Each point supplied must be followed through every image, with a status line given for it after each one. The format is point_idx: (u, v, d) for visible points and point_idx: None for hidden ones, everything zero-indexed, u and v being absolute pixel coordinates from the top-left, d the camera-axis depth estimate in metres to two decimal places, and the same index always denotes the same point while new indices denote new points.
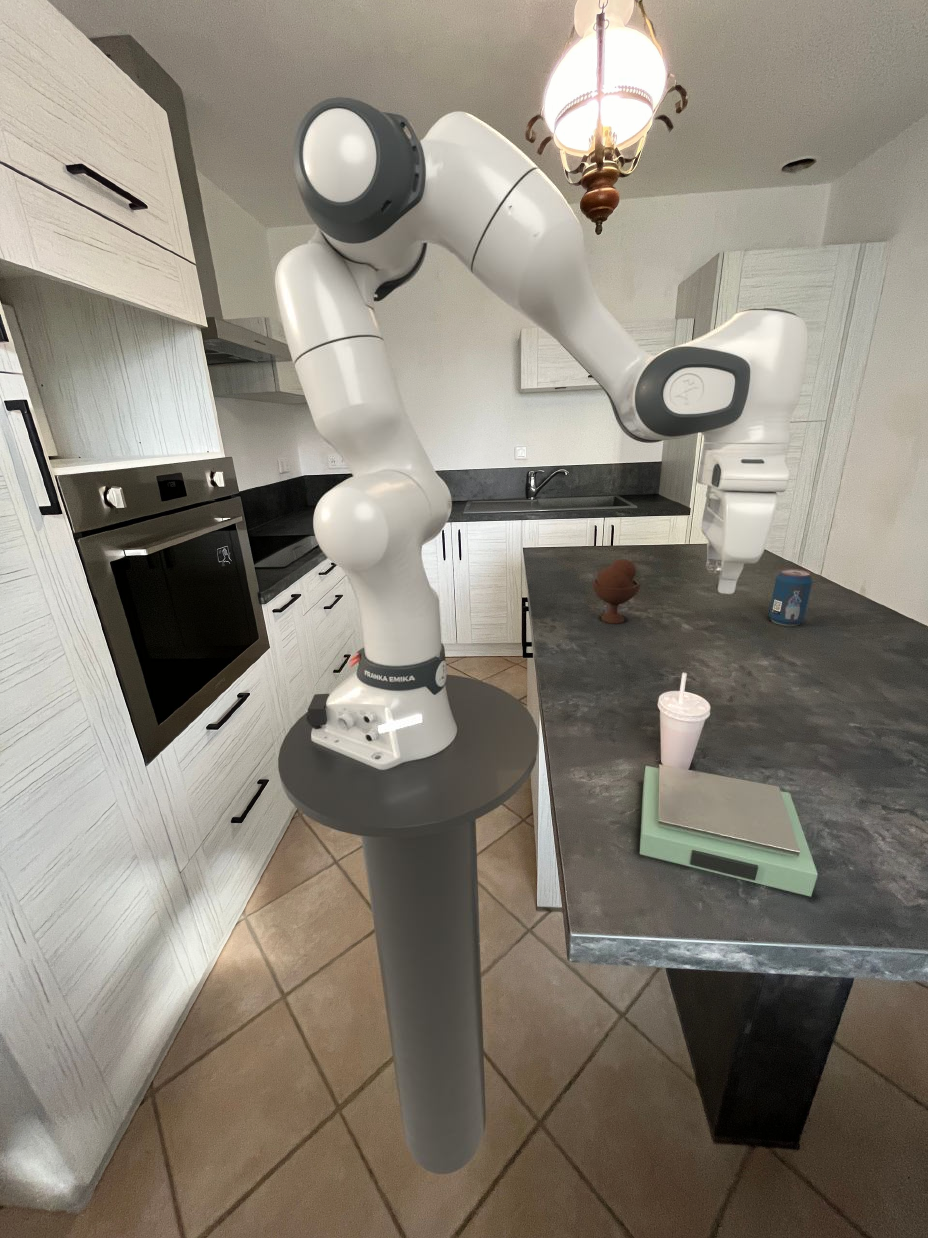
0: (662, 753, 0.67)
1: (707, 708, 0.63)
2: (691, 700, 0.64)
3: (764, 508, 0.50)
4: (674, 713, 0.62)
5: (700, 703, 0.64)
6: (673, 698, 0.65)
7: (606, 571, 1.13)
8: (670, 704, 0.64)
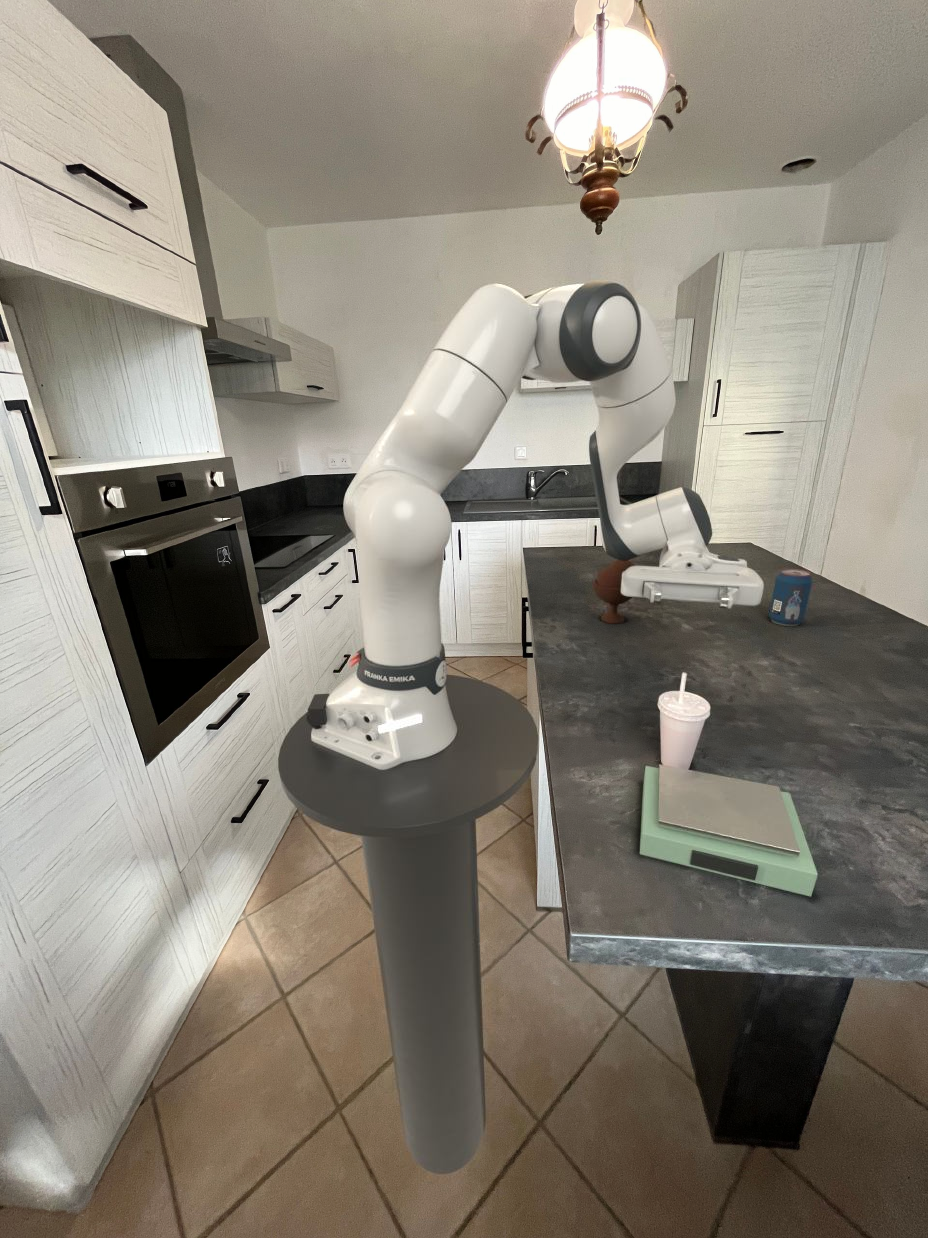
0: (662, 753, 0.67)
1: (707, 708, 0.63)
2: (691, 700, 0.64)
3: None
4: (674, 713, 0.62)
5: (700, 703, 0.64)
6: (673, 698, 0.65)
7: (606, 571, 1.13)
8: (670, 704, 0.64)
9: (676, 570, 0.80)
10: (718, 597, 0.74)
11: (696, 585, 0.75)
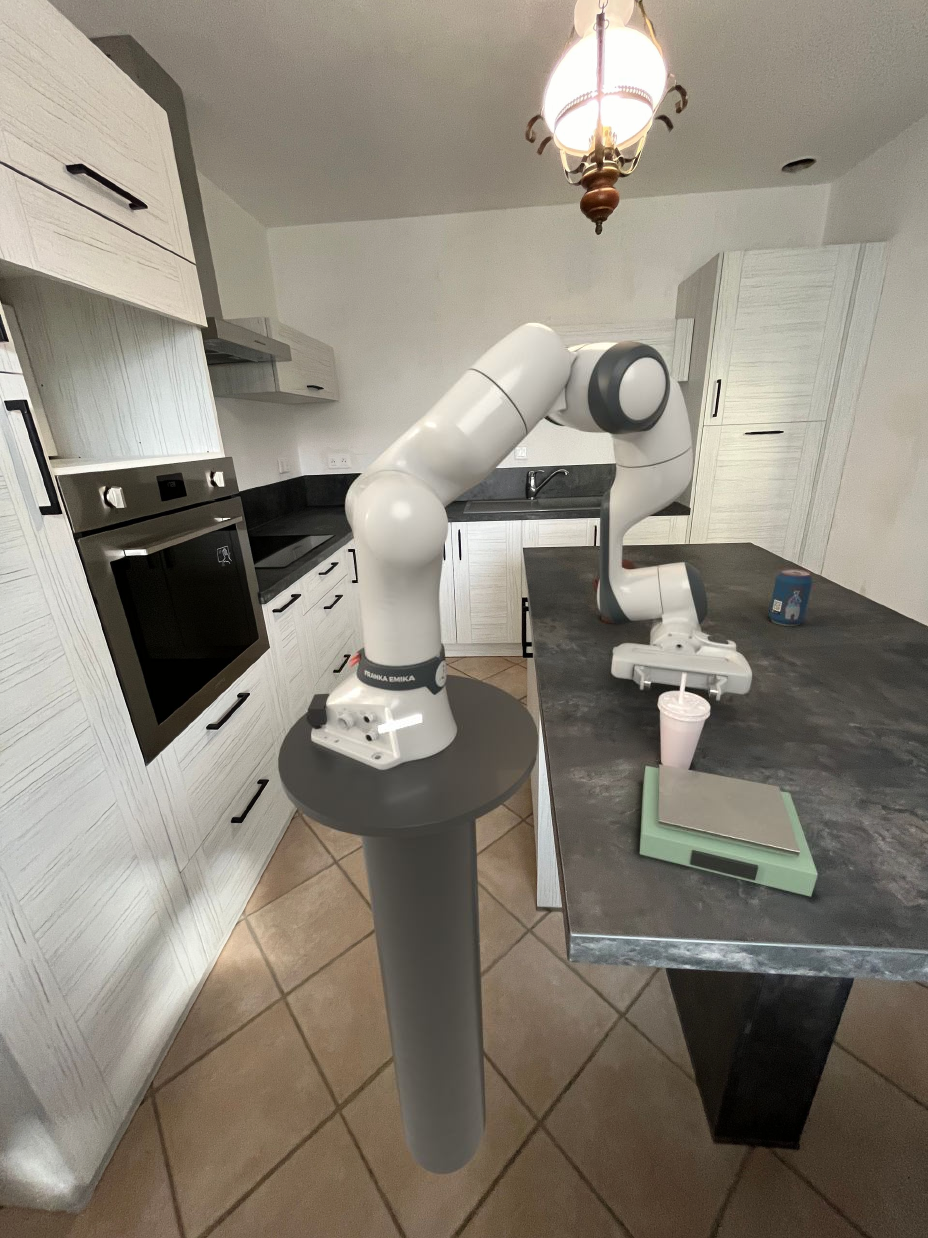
0: (662, 753, 0.67)
1: (707, 708, 0.63)
2: (691, 700, 0.64)
3: None
4: (674, 713, 0.62)
5: (700, 703, 0.64)
6: (673, 698, 0.65)
7: None
8: (670, 704, 0.64)
9: (666, 651, 0.80)
10: (707, 684, 0.75)
11: (685, 671, 0.75)
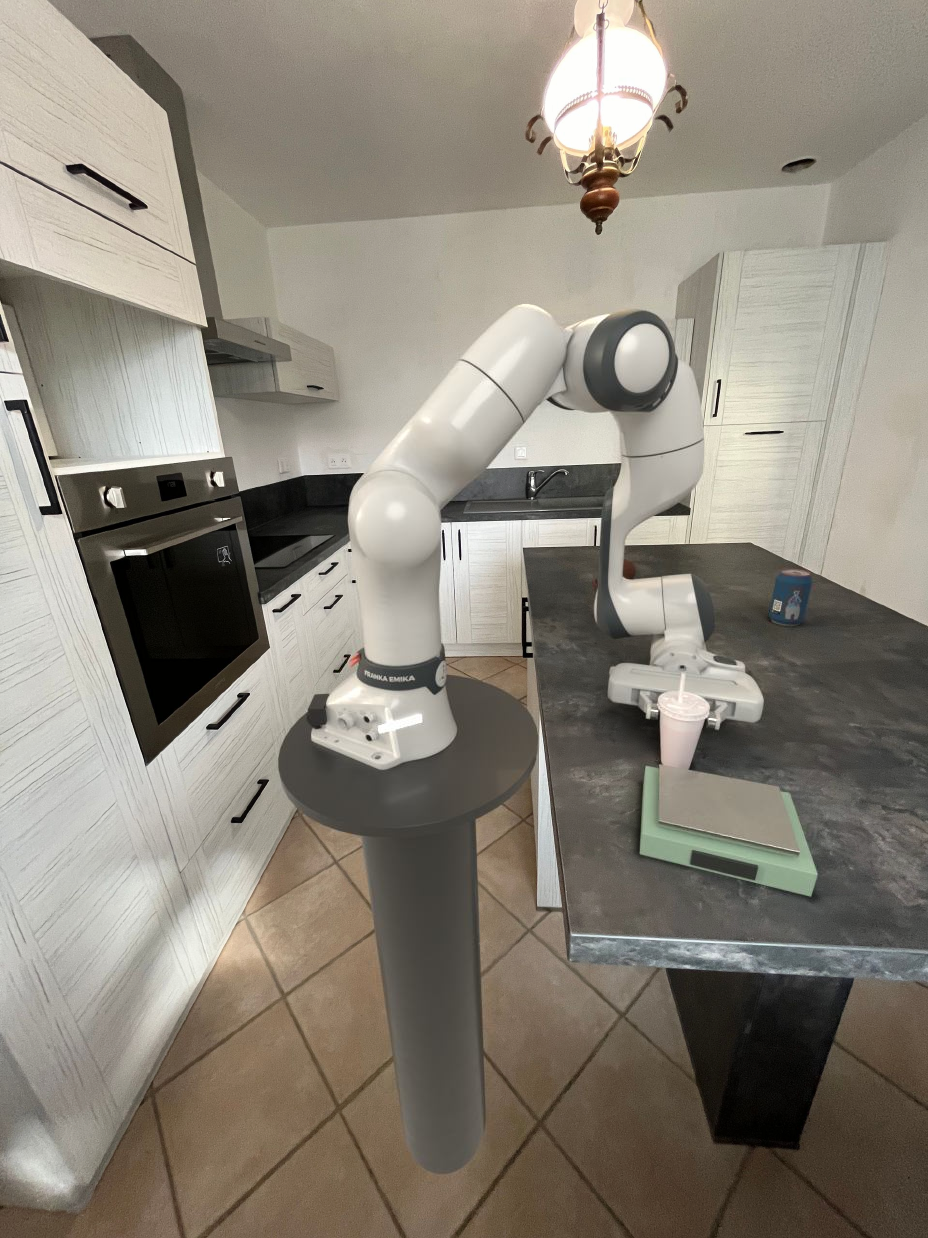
0: (662, 753, 0.67)
1: (706, 708, 0.63)
2: (690, 700, 0.64)
3: None
4: (674, 713, 0.62)
5: (699, 703, 0.64)
6: (672, 698, 0.65)
7: None
8: (669, 704, 0.64)
9: (668, 672, 0.73)
10: (714, 710, 0.68)
11: None
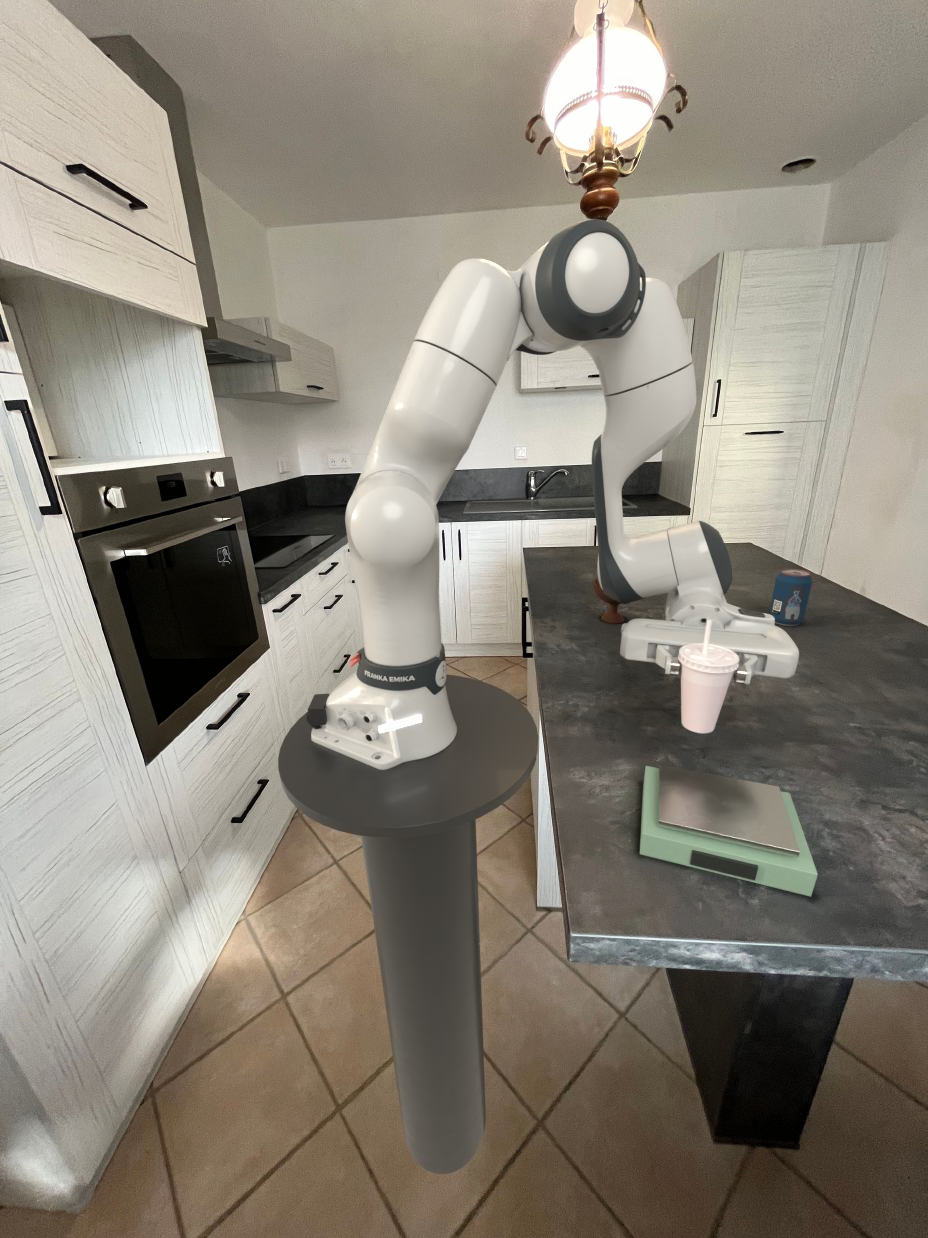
0: (683, 713, 0.59)
1: (736, 659, 0.55)
2: (716, 651, 0.56)
3: None
4: (698, 665, 0.55)
5: (727, 654, 0.56)
6: (696, 650, 0.57)
7: None
8: (693, 655, 0.56)
9: (688, 627, 0.65)
10: None
11: None
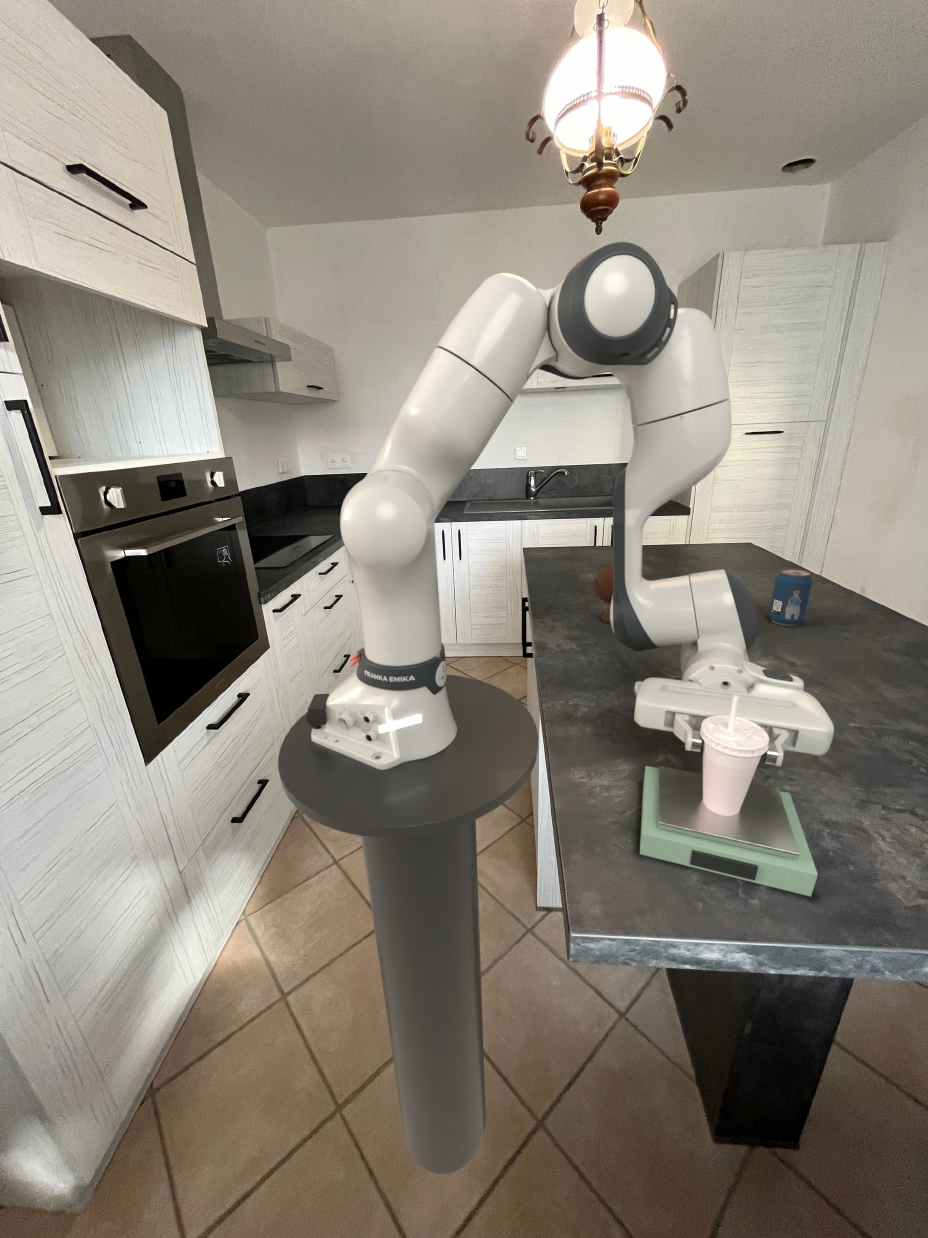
0: (705, 793, 0.54)
1: (765, 739, 0.49)
2: (743, 728, 0.51)
3: None
4: (724, 746, 0.49)
5: (755, 732, 0.51)
6: (720, 725, 0.52)
7: (606, 571, 1.13)
8: (717, 734, 0.50)
9: (708, 690, 0.60)
10: None
11: None
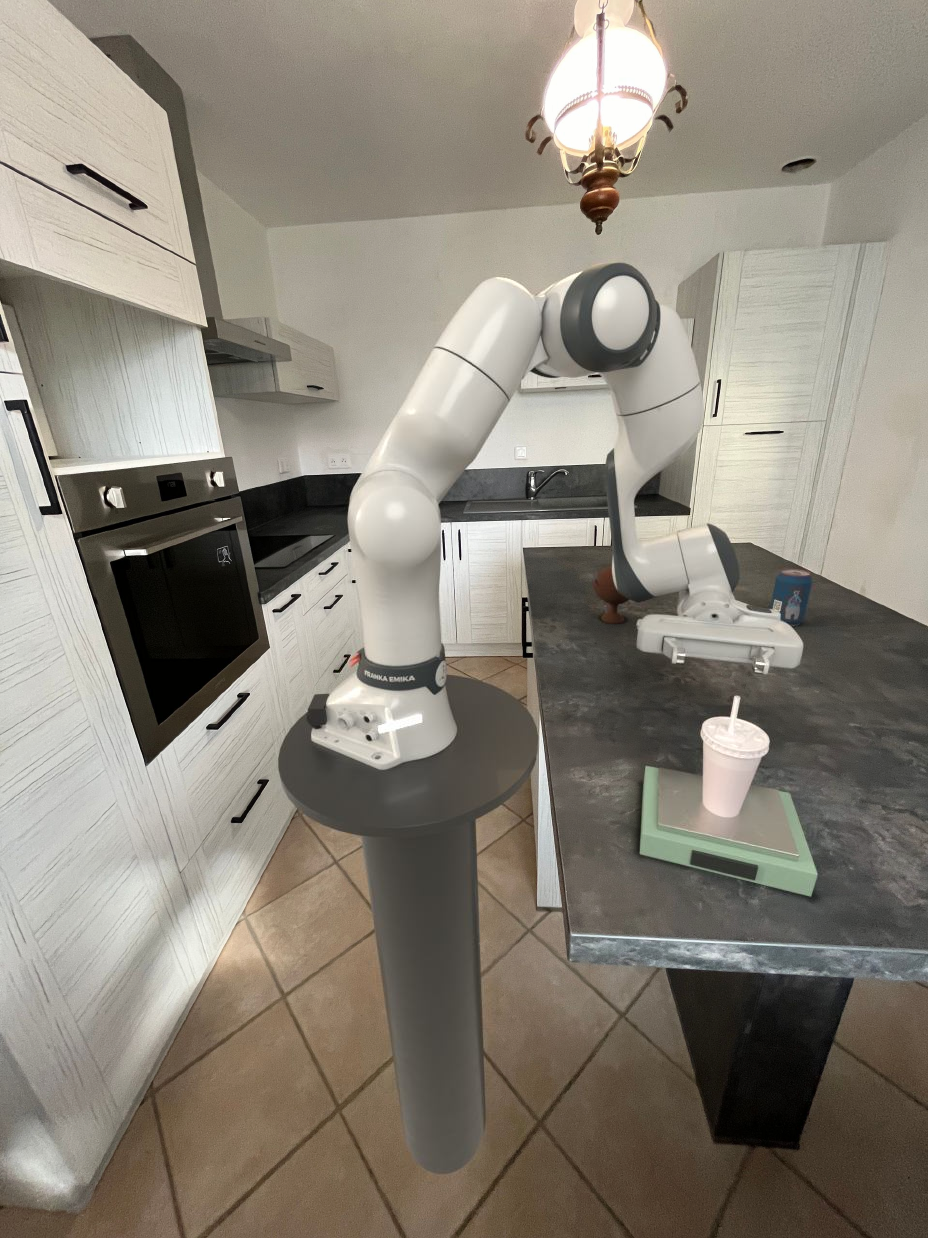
0: (705, 794, 0.54)
1: (766, 741, 0.50)
2: (744, 730, 0.51)
3: None
4: (725, 748, 0.49)
5: (755, 734, 0.51)
6: (721, 727, 0.52)
7: (606, 571, 1.13)
8: (718, 735, 0.50)
9: (699, 622, 0.70)
10: (749, 657, 0.65)
11: (724, 642, 0.65)
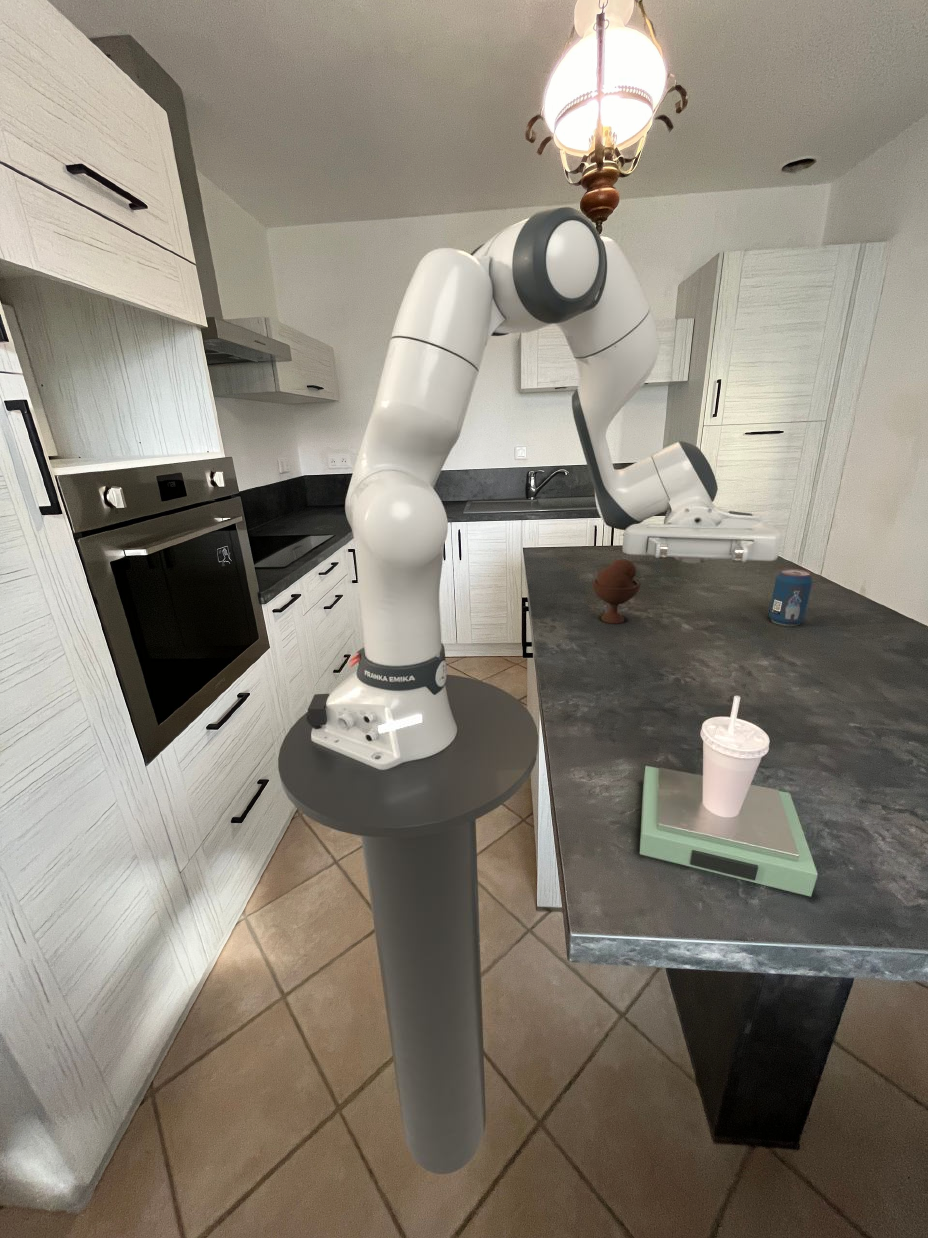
0: (705, 794, 0.54)
1: (766, 741, 0.50)
2: (744, 730, 0.51)
3: None
4: (725, 748, 0.49)
5: (755, 734, 0.51)
6: (721, 727, 0.52)
7: (606, 571, 1.13)
8: (718, 735, 0.50)
9: (683, 526, 0.73)
10: (730, 553, 0.67)
11: (706, 540, 0.68)
